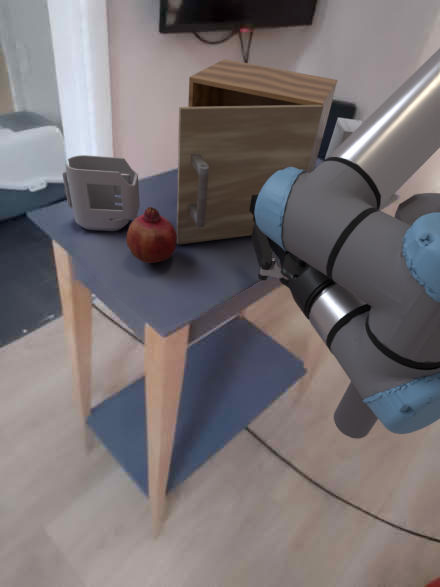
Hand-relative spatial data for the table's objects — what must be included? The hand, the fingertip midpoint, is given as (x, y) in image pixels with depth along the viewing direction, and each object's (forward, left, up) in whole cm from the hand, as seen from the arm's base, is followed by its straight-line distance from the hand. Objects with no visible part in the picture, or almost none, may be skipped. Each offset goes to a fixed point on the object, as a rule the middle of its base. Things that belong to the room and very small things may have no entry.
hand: (254, 202), depth 61 cm
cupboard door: (+2, -5, -11) cm, 13 cm away
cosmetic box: (-10, -38, -12) cm, 41 cm away
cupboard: (+7, -24, -12) cm, 28 cm away
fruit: (+15, +7, -12) cm, 20 cm away
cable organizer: (+27, +1, -12) cm, 29 cm away
